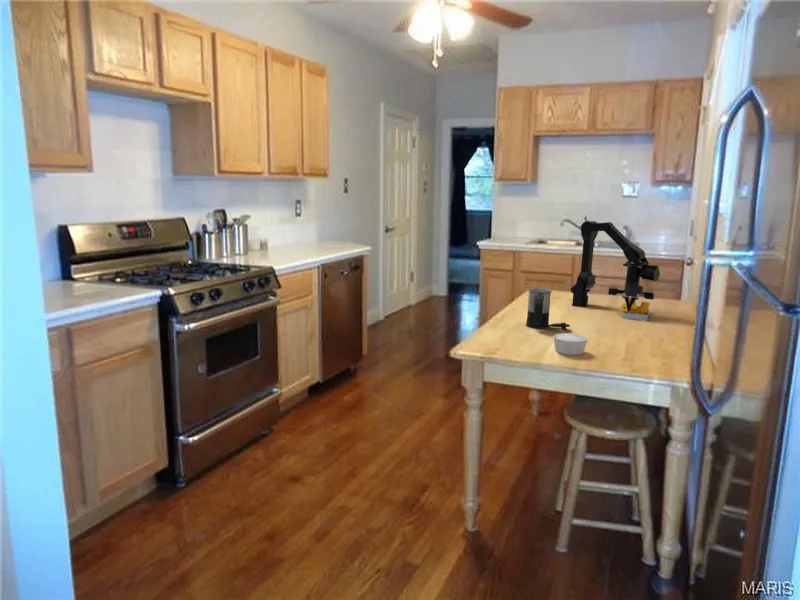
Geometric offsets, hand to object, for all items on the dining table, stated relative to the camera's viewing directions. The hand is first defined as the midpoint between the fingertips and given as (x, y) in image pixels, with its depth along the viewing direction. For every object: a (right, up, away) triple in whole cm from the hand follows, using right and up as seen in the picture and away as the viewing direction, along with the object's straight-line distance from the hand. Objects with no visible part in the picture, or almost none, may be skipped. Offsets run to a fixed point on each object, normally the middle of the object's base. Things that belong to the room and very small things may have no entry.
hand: (628, 311), depth 264 cm
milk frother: (-42, -6, -25) cm, 50 cm away
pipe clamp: (+3, -1, +1) cm, 3 cm away
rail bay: (+2, -1, 0) cm, 3 cm away
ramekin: (-43, -13, -57) cm, 73 cm away
